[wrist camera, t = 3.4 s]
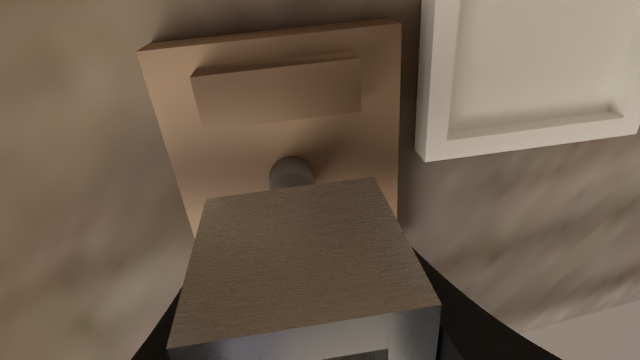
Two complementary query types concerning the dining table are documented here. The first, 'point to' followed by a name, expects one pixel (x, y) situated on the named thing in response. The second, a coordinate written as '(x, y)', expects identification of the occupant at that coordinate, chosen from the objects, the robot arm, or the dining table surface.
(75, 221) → the dining table surface
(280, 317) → the sleeve
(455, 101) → the dish
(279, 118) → the vise block
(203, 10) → the dining table surface
